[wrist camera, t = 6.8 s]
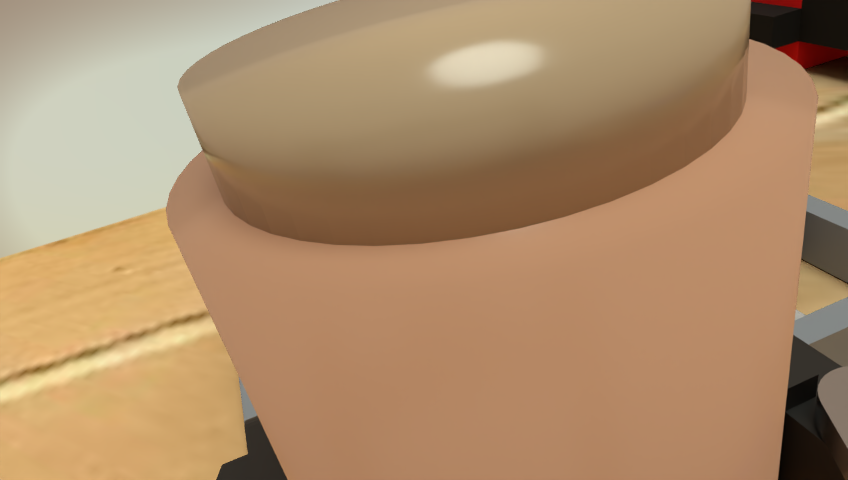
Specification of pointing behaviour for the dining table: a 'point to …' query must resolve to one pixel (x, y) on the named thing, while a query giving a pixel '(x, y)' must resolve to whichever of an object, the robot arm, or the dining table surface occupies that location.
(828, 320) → the rack
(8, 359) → the dining table surface
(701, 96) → the terracotta jar
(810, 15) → the red and black block
